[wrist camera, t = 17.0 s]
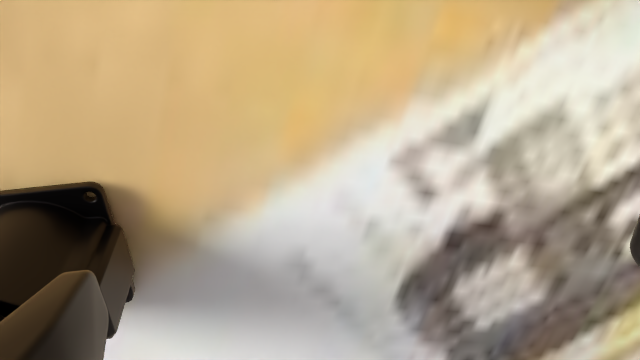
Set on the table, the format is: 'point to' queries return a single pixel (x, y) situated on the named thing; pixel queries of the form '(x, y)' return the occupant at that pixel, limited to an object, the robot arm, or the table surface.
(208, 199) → the table surface
